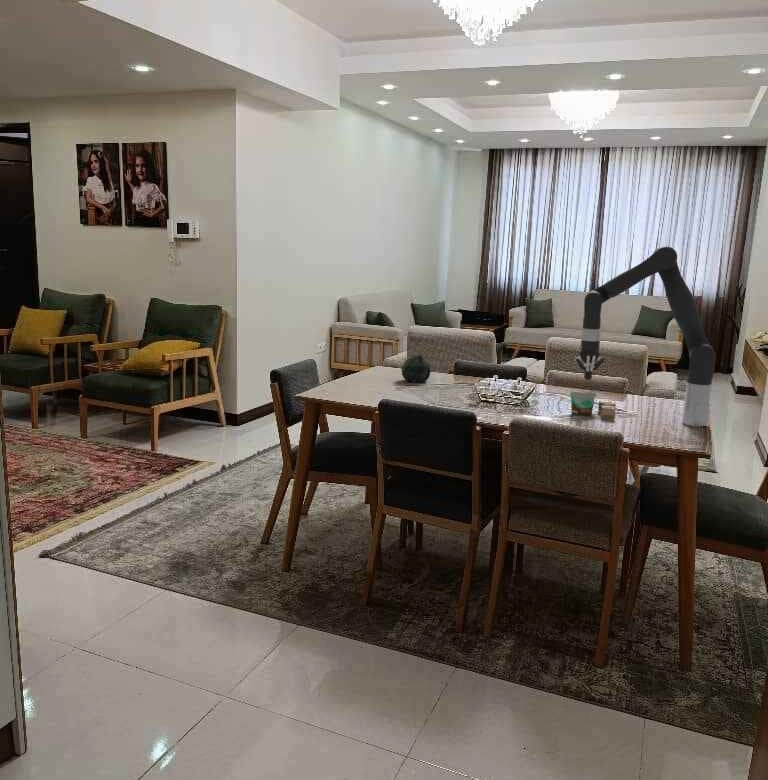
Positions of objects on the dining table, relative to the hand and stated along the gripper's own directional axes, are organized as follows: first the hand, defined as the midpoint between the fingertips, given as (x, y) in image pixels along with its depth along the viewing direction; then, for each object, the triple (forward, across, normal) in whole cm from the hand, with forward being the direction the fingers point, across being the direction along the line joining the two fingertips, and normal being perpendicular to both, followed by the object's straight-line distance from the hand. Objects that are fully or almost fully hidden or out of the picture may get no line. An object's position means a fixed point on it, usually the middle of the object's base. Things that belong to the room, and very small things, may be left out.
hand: (587, 379), depth 300 cm
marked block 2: (+15, +7, -7) cm, 18 cm away
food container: (+15, 0, 0) cm, 15 cm away
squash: (+14, -63, +72) cm, 97 cm away
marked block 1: (+15, +10, +1) cm, 18 cm away
